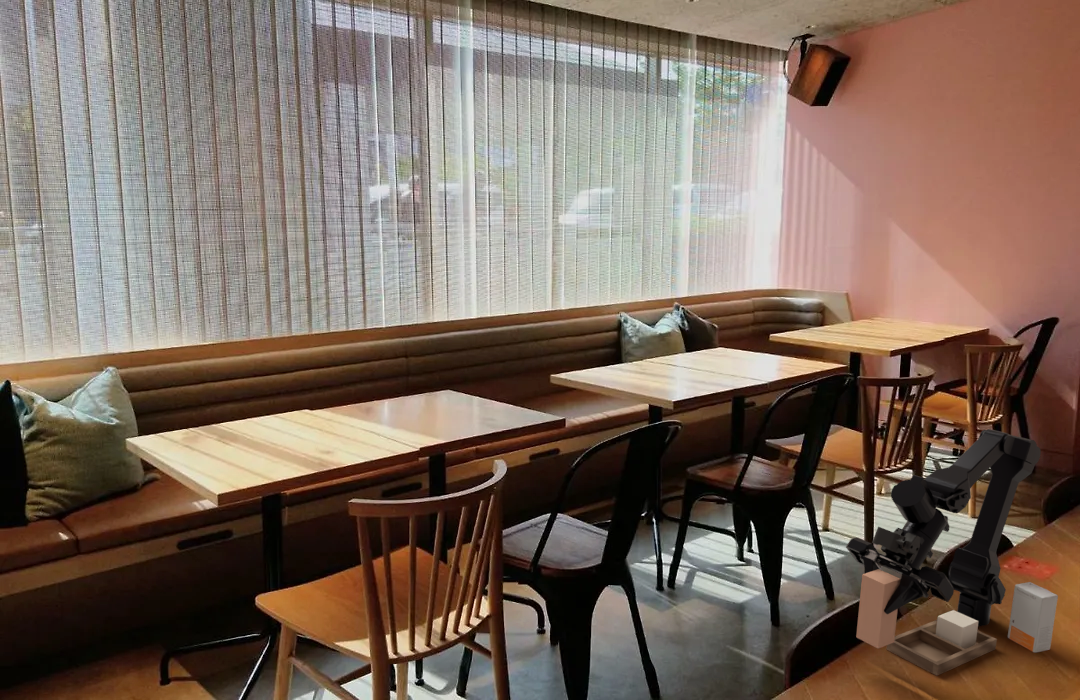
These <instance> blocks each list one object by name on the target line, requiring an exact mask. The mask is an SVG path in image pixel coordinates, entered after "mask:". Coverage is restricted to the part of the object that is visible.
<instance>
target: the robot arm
mask: <svg viewBox="0 0 1080 700" xmlns="http://www.w3.org/2000/svg"><path fill="white" fill-rule="evenodd" d="M1041 451H1042V450H1041V448H1040V447H1039V446H1038V444H1037V441H1036V440H1034V439H1029V438H1025V437H1021V436H1017V435H1012V434H1009V433H1008V432H1004V431H999V430H996V429H995V430H994V429H991V428H990V429H989V428H988V429H983V430H982V431H981V432H980V434H979V436H978V439H976V441H975V442H973V443H972V445H970V446H969V448H967V450H966V451H964V453H963V454H961V455H960V457H958V459H956V460H955V461H954V462H953V463H952V464H951V465H950V466H947V467H943V468H938V469H936V470H935V471H933V472H931V473H930V474H929V475H927V476H926V477H925V478H924V477H921V476H918V475H915V474H913V475H912V477H911V478H910V479H905V480H901V481H900V482H898V483H897V484H895V485H893V486H892V489H891V491H890V492H891V493H890V497H891V499H892V502H893V503H894V505H895V506H896V508H897V509H898V511H899V513H900V514H901V516H902V518H903V519H904V520H905V521H906V522H905V524H904V525H903V527H902V528H899V527H897V528H896V529H895V530H894V531H892V530H889V529H886V528H883V527H881V526H878V527H877V529H876V530H875V533H874V537H873V539H872V542H869V541H866V540H863V539H862V538H859V537H853V538H851V539H850V540H849V541H848V543H847V545H846V546H845V548H846V549H847V551H848V552H849V553H850V555H851V556H852V557H853V559H854V560H855V561H856V562H857V563H858V564H859V565H862V566H864V574H865V573H868V572H871V571H874V570H877V569H879V570H882V571H883V568H886V569H887V570H891V571H893V572H895V573H898V574H900V575H901V577H900V579H901V581H900V585H899V586H898V588H897V589H896V591H895V592H894V594H893V595H892V597H891V598H890V600H889V601H888V603H887V605H886V607H885V609H884V612H885V613H886V614H889V613H891V612H893V611H895V610H896V609H899V608H902V607H903V606H905V605H907V604H909V603H912V602H913V601H915V600H918V599H920V598H922V597H923V598H926V599H927V598H928V597H929V594H928V592H929V591H930V593H931V595H932V597H934V598H937V599H939V600H941V601H944V602H945V603H946V602H947V603H949V602H950V600H951V598H952V597H953V595H954V592H955V591H956V592H958V593H959V597H958V603H957V612H959V613H961V614H963V615H966V616H968V617H970V618H972V619H975V620H977V621H978V627H979V626H980V627H983V626H987V625H989V623H990V618H991V610H992V605H1001V604H1002V602H1003V600H1004V598H1005V595H1006V587H1005V586H1004V584H1003V582H1002V581H1001V579H1000V572H1001V569H1002V568H1001V565H1000V562H999V558H998V555H997V549H998V547H999V543H1000V541H1001V537H1002V535H1003V532H1004V529H1005V526H1006V522H1007V519H1008V517H1009V514H1010V513H1009V512H1010V510H1011V507H1012V504H1013V500H1014V497H1015V495H1016V491H1017V488H1018V486H1019V484H1020V482H1022V481H1023V480H1025V479H1026V478H1027V477H1028V476H1030V475H1031V474H1032V473H1033V471H1034V468H1035V466H1036V464H1038V462H1039V460H1040V458H1041ZM989 469H990V472H991V477H990V481H989V482H988V486H987V489H986V492H985V496H984V498H983V501H982V504H981V507H980V510H979V513H978V516H977V520H976V522H975V526H974V528H973V531H972V534H971V537H970V540H969V542H968V543H967V544H966V545H965V546H963V547H958V548H956V550H955V551H954V555H953V559H952V561H951V562H950V564H949V567H948V571H947V572H948V577H947V575H946V574H945V573H944V572H942V571H939V570H937V569H935V568H932V567H929V566H928V565H926V566H923V567H922V564H923V563H924V562H925V560H926V559H927V558H929V559H931V558H932V557H933V555H934V553H933V551H932V548H933V546H934V545H935V543H936V542H937V541H938V538H939V537H940V535H941V534H942V532H943V531H944V532H946V533H947V532H949V531H950V524H949V521H948V520H949V517H948V516H947V515H944V514H943V512H942V511H941V510H943V511H946V512H950V513H953V514H958V513H960V512H962V510H963V509H965V508H966V507H967V505H968V503H969V501H970V500H971V498H972V494H971V493H972V492H971V489H972V487H973V486H974V485H975V484H976V482H977V481H979V479H980V478H981V477H983V476H984V474H985V473H986V472H987V471H988V470H989ZM940 509H941V510H940ZM874 545H876V546H878V545H879V546H880V549H881V551H882V552H883V553H885V555H884V554H882V553H879V551H878V550H877V549H876V547H875V546H874ZM920 567H921V568H920Z"/></svg>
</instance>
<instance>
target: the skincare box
mask: <svg viewBox="0 0 1080 700" xmlns="http://www.w3.org/2000/svg"><path fill="white" fill-rule="evenodd" d="M1058 598H1059V596H1058V594H1056V593H1053V592H1052V591H1050V590H1049V589H1047V588H1045V587H1042V586H1039V585H1037V584H1035V583H1033V582H1031V581H1028V582H1023V583H1016V584H1015V585H1014V591H1013V597H1012V604H1011V611H1010V616H1009V617H1010V618H1009V626H1008V633H1007V639H1009V640H1011V641H1013V642H1014V643H1016V644H1018V645H1020V646H1022V647H1024V648H1026V649H1027V650H1029V651H1030V652H1032V653H1040V652H1045V651H1048V650H1051V645H1052V639H1053V632H1054V631H1053V630H1054V626H1055V625H1054V623H1055V618H1056V610H1057V604H1058Z"/></svg>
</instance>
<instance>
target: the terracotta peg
mask: <svg viewBox="0 0 1080 700" xmlns="http://www.w3.org/2000/svg"><path fill="white" fill-rule="evenodd" d="M900 581H901V577H897V576H895V575H893V574H890V573H889V572H886V571H883V569H882V570H879V569H877V570H874V571H871V572H868V573H865V572H864V573H863V574H862V575H861V585H860V595H859V606H858V615H857V616H858V617H857V626H856V635H855V636H856V638H857V639H858V640H860V641H863V642H864V643H867V644H868V645H870V646H872V647H874V648H876V649H880V648H883V647H887V645H888V644H891V643H893V642H894V638H895V636H896V629H897V617H898V609H899V608H898V609H896V610H895V611H893V612H891V613H889V614H886V613H885V612H884V609H885V607H886V605H887V603H888V601H889V600H890V598H891V597H892V595H893V594H894V592H895V591H896V589H897V588H898V586H899V585H900Z"/></svg>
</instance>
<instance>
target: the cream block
mask: <svg viewBox="0 0 1080 700" xmlns="http://www.w3.org/2000/svg"><path fill="white" fill-rule="evenodd" d="M936 620H937V627H936V635H937V636H939V637H941V638H943V639H945V640H948V641H950V642H952V643H954V644H956V645H958V646H960V647H962V648H964V649H967V648H969V647H971V646H974V645H976V637H977V630H979V629H978V627H979V626H978V621H977V620H975V619H972V618H970V617H968V616H966V615H963V614H961V613H959V612H957V611H956V610H954V609H953V610H950V611H947V612H945V613H942V614H940V615H938V616H937V619H936Z"/></svg>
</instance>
